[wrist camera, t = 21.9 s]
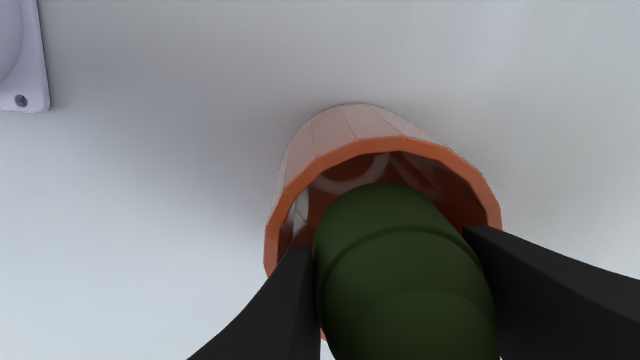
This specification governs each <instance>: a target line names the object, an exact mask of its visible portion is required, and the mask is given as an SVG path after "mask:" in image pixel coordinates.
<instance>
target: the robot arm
mask: <svg viewBox="0 0 640 360" xmlns="http://www.w3.org/2000/svg"><path fill="white" fill-rule="evenodd" d="M22 96H24V97H25V98H26V99H27V101H28V103H27V105H25V104H24V103H23V102H22V100H21V98H22ZM49 107H50V96H49V89H48V81H47V74H46V67H45V59H44V52H43V45H42V37H41V30H40V23H39V15H38V8H37V1H36V0H0V111H12V112H24V113H42V112H45V111H47V110H48V109H49ZM462 238H463V239H464V240H465V241H466V242H467V244H468V245H469V246H470V247H471V249H472V250H473V251H474V252H475V254H476V255H477V257H478V259H479V261H480V262H481V265H482V268H483V271H484V275H485V279H486V281H487V283H488V286H489V288H490V291H491V294H492V297H493V301H494V306H495V311H496V336H495V338H496V340H497V343H498V349H499V354H500V357H501V358H502V360H640V280H638V279H634V278H631V277H628V276H624V275H621V274H617V273H614V272H611V271H607V270H604V269H601V268H598V267H595V266H592V265H589V264H587V263H584V262H581V261H578V260H575V259H572V258H570V257H567V256H564V255H562V254H559V253H556V252H554V251H551V250H549V249H546V248H544V247H541V246H539V245H536V244H534V243H531V242H529V241H526V240H524V239H522V238H519V237H517V236H514V235H512V234H509V233H507V232H504V231H502V230H499V229H496V228H494V227H491V226H487V225H484V224H482V225H473V226H465V227H462ZM320 344H321V331H320V325H319V322H318V320H317V316H316V311H315V297H314V266H313V258H312V251H311V244H309V245H300V246H291V247H289V248H288V249H287V250H286V252H285V254H284V255H283V257H282V258H281V260H280V262H279V263H278V265H277V266H276V268H275V269H274V271H273V272H272V274H271V275H270V276H269V278H268V279H267V281H266V282H265V283H264V285H263V286H262V287H261V289H260V290H259V291H258V292H257V294H256V295H255V296H254V297H253V298H252V300H251V301H250V302H249V303H248V304H247V306H246V307H245V308H244V309H243V310H242V311H241V312H240V313H239V315H238V316H237V317H236V318H234V319H233V320H232V321H231V322H230V323H229V324H228V325H227V326H226V327H225V328H224V329H223V330H222V331H221V332H220V333H219V334H217V335H216V336H215V337H214V338H213V339H211V340H210V341H209V342H208V343H206V344H205V345H204V346H203V347H202V348H200V349H199V350H198V351H197V352H195V353H194V354H193V355H192V356H191V357H189V358H188V359H187V360H320Z"/></svg>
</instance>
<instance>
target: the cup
mask: <svg viewBox="0 0 640 360" xmlns="http://www.w3.org/2000/svg"><path fill="white" fill-rule="evenodd" d="M374 182H394V183H399V184H403V185H406V186H409V187H412V188H413V189H415V190H417V191H419V192H421V193H422V194H423V195H425V196H426V197H427V198H428V199H429V200H430V201H431V202H432V203H433V204H434V205H435V206H436V207H437V209H438V210H439V211H440V212H441V213H442V214H443V216H444V217H445V218H446V219H447V220H448V221H449V223H450V224H451V225H452V226H453V227H454V228H455V230H456V231H457V232H458V233H459V234H460V235H461V237H462V227H465V226H473V225H482V224H484V225H487V226H491V227H494V228H496V229H499V230H502V221H501V212H500V206H499V203H498V201H497V200H496V198H495V196H494V195H493V193H492V191H491V189H490V188H489V186H488V184H487V182H486V181H485V179H484V177H483V175H482V174H481V173H480V172H479V170H478V169H476V168H475V167H474V166H472V165H471V164H470V163H468V162H467V161H466V160H464V159H463V158H462V157H460V156H459V155H458V154H456V153H455V152H454V151H452V150H451V149H450V148H448V147H447V146H445V145H444V144H442V143H441V142H439V141H438V140H436V139H434V138H433V137H431V136H430V135H428V134H427V133H425V132H424V131H422V130H421V129H419V128H418V127H416V126H414V125H413V124H411V123H410V122H408V121H407V120H405V119H404V118H402V117H401V116H399V115H398V114H396V113H394V112H392V111H390V110H387V109H384V108H382V107H378V106H375V105H370V104H362V103H352V104H343V105H339V106H335V107H332V108H329V109H327V110H324V111H322V112H320V113H318V114H317V115H315V116H313V117H312V118H311V119H309V120H308V121H307V122H305V123H304V124H303V125H302V126H301V127H300V128H299V129H298V131H297V132H296V133H295V134H294V136H293V137H292V139H291V140H290V142H289V144H288V146H287V148H286V150H285V153H284V156H283V158H282V160H281V163H280V167H279V171H278V175H277V180H276V184H275V188H274V192H273V196H272V201H271V205H270V209H269V213H268V217H267V222H266V226H265V236H264V256H263V264H264V269H265V271H266V274H267V277H268V278H269V276H270V275H271V274H272V272H273V271H274V269H275V268H276V266H277V265H278V263H279V262H280V260H281V258H282V257H283V255H284V254H285V252H286V250H287V249H288V248H289V247H291V246H300V245H309V244H311V251H312V258H313V236H314V232H315V228H316V226H317V223H318V221H319V219H320V217H321V216H322V214H323V212H324V211H325V210H326V209H327V207H328V206H329V205H330V204H331V203H332V202H333V201H334V200H335V199H337V198H338V197H339V196H340V195H342V194H344V193H345V192H347V191H349V190H351V189H353V188H355V187H358V186H361V185H364V184H368V183H374ZM502 231H503V230H502ZM320 331H321V338H322V339H324V340H325V341H327V340H326V338H325V335H324V333H323V331H322V329H321V327H320Z"/></svg>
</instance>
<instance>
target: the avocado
mask: <svg viewBox="0 0 640 360" xmlns="http://www.w3.org/2000/svg"><path fill="white" fill-rule="evenodd" d="M313 266H314V297H315V311H316V316H317V320H318V322H319V325H320V327H321V329H322V331H323V333H324V335H325V338H326V340H327V343H328V346H329V349H330V351H331V353H332V355H333V356H334V358H335V360H500V354H499V349H498V343H497V340H496V338H495V336H496V311H495V306H494V301H493V297H492V294H491V291H490V288H489V286H488V283H487V281H486V279H485V275H484V271H483V268H482V265H481V262H480V261H479V259H478V257H477V255H476V254H475V252H474V251H473V250H472V249H471V247H470V246H469V245H468V244H467V242H466V241H465V240H464V239H463V238H462V237H461V235H460V234H459V233H458V232H457V231H456V230H455V228H454V227H453V226H452V225H451V224H450V223H449V221H448V220H447V219H446V218H445V217H444V216H443V214H442V213H441V212H440V211H439V210H438V209H437V207H436V206H435V205H434V204H433V203H432V202H431V201H430V200H429V199H428V198H427V197H426V196H425V195H423V194H422V193H421V192H419V191H417V190H415V189H413V188H412V187H409V186H406V185H403V184H399V183H394V182H374V183H368V184H364V185H361V186H358V187H355V188H353V189H351V190H349V191H347V192H345V193H344V194H342V195H340V196H339V197H338V198H337V199H335V200H334V201H333V202H332V203H331V204H330V205H329V206H328V207H327V209H326V210H325V211H324V212H323V214H322V216H321V217H320V219H319V221H318V223H317V226H316V228H315V232H314V236H313Z"/></svg>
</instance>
